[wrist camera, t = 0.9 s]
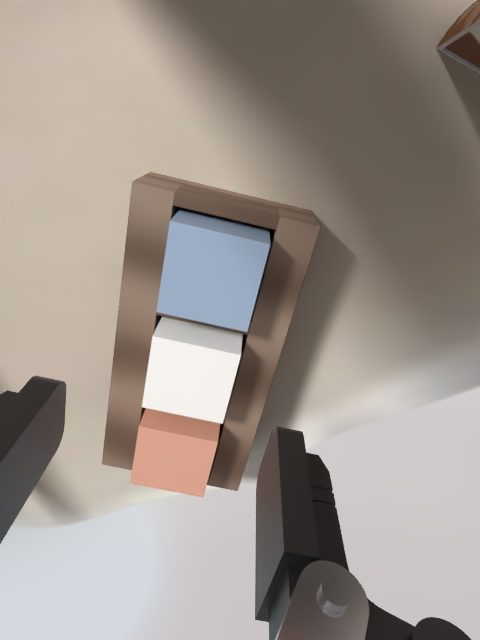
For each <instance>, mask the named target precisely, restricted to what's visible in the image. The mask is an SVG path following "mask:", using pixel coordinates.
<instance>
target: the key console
mask: <svg viewBox="0 0 480 640" xmlns="http://www.w3.org/2000/svg"><path fill="white" fill-rule="evenodd" d="M180 209H185V210H189V211H193V212H198V213H202V214H206V215H210V216H215V217H219V218H223V219H227V220H231V221H236V222H240V223H244V224H248V225H253V226H257V227H261V228H265V229H269V232H270V244H271V245H270V248H269V252H268V256H267V260H266V263H265V267H264V271H263V275H262V278H261V282H260V286H259V290H258V293H257V297H256V301H255V305H254V309H253V312H252V316H251V320H250V324H249V327H248V331H247V332H244V331H240V330H235V329H231V328H226V327H222V326H217V325H212V324H208V323H203V322H199V321H194V320H190V319H185V318H181V317H176V316H172V315H167V314H163V313H158V312H156V310H157V303H158V297H159V290H160V284H161V277H162V270H163V264H164V257H165V251H166V244H167V238H168V231H169V224H170V220H171V219H172V218H173V217H174V216H175V214H176V213H177V212H178V211H179V210H180ZM320 227H321V226H320V225H319V223H318V221H317V219H316V217H315V216H314V214H313V212H312V211H309V210H305V209H301V208H297V207H293V206H289V205H285V204H280V203H276V202H272V201H268V200H264V199H260V198H256V197H251V196H247V195H243V194H239V193H235V192H231V191H227V190H222V189H218V188H214V187H210V186H206V185H202V184H198V183H193V182H189V181H185V180H181V179H177V178H173V177H169V176H164V175H160V174H156V173H152V172H150V173H148V174H146V175H144V176H142V177H140V178H138V179H136V180H134V181H133V182H132V190H131V199H130V208H129V217H128V227H127V236H126V245H125V255H124V264H123V273H122V283H121V292H120V301H119V310H118V320H117V329H116V338H115V348H114V357H113V366H112V376H111V385H110V394H109V403H108V413H107V422H106V431H105V441H104V450H103V459H102V464H103V465H109V466H114V467H119V468H124V469H129V470H132V467H133V461H134V454H135V448H136V441H137V435H138V428H139V424H140V422H141V419H142V417H143V414H144V411H145V409H146V408H143V407H142V402H143V395H144V389H145V382H146V376H147V369H148V362H149V356H150V349H151V343H152V336H153V334H154V332H155V330H156V328H157V326H158V324H159V322H160V320H161V318H162V316H165V317H169V318H174V319H178V320H183V321H187V322H192V323H196V324H201V325H205V326H210V327H214V328H219V329H223V330H228V331H232V332H237V333H242V334H243V337H242V349H241V357H240V361H239V365H238V369H237V372H236V376H235V380H234V384H233V387H232V391H231V395H230V399H229V402H228V406H227V410H226V414H225V418H224V421H223V424H221V423H220V430H219V438H218V444H217V448H216V451H215V455H214V459H213V463H212V466H211V470H210V474H209V478H208V481H207V485H210V486H215V487H220V488H225V489H230V490H235V491H237V490H238V488H239V484H240V481H241V478H242V475H243V472H244V469H245V465H246V462H247V459H248V456H249V453H250V449H251V446H252V443H253V440H254V437H255V434H256V430H257V427H258V424H259V421H260V418H261V414H262V411H263V408H264V405H265V402H266V399H267V395H268V392H269V389H270V386H271V383H272V380H273V376H274V373H275V370H276V367H277V364H278V360H279V357H280V354H281V351H282V348H283V345H284V341H285V338H286V335H287V332H288V329H289V325H290V322H291V319H292V316H293V313H294V310H295V306H296V303H297V300H298V297H299V294H300V291H301V287H302V284H303V281H304V278H305V275H306V271H307V268H308V265H309V262H310V259H311V256H312V252H313V249H314V246H315V243H316V240H317V236H318V233H319V230H320Z"/></svg>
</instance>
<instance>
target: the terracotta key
mask: <svg viewBox="0 0 480 640" xmlns="http://www.w3.org/2000/svg"><path fill="white" fill-rule="evenodd" d="M219 430H220V423H216V422H211V421H206V420H201V419H197V418H192V417H187V416H182V415H177V414H172V413H168V412H163V411H158V410H153V409H148V408H146V409H145V411H144V414H143V417H142V419H141V422H140V424H139V428H138V435H137V441H136V448H135V454H134V461H133V467H132V474H131V481H130V483H132V484H138V485H143V486H148V487H153V488H158V489H163V490H168V491H173V492H178V493H184V494H189V495H194V496H199V497H203V496H204V493H205V489H206V485H207V481H208V478H209V474H210V470H211V466H212V463H213V459H214V455H215V451H216V448H217V444H218V438H219Z"/></svg>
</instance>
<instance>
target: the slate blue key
mask: <svg viewBox="0 0 480 640" xmlns="http://www.w3.org/2000/svg"><path fill="white" fill-rule="evenodd" d="M270 245H271V244H270V232H269V229H265V228H261V227H257V226H253V225H248V224H244V223H240V222H236V221H231V220H227V219H223V218H219V217H215V216H210V215H206V214H202V213H198V212H193V211H189V210H185V209H180V210H179V211H178V212H177V213H176V214H175V216H174V217H173V218H172V219H171V220H170V224H169V231H168V238H167V244H166V251H165V257H164V264H163V270H162V277H161V284H160V290H159V297H158V303H157V310H156V312H158V313H163V314H167V315H172V316H176V317H181V318H185V319H190V320H194V321H199V322H203V323H208V324H212V325H217V326H222V327H226V328H231V329H235V330H240V331H244V332H247V331H248V327H249V324H250V320H251V316H252V312H253V309H254V305H255V301H256V297H257V293H258V290H259V286H260V282H261V278H262V275H263V271H264V267H265V263H266V260H267V256H268V252H269V248H270Z"/></svg>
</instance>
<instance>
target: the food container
mask: <svg viewBox="0 0 480 640" xmlns="http://www.w3.org/2000/svg"><path fill="white" fill-rule="evenodd" d="M436 49H438V50H440V51H441V52H443V53H445V54H447V55H448V56H450V57H452V58H453V59H455V60H457V61H459V62H460V63H462V64H464V65H465V66H467V67H469V68H471V69H472V70H474V71H476V72H477V73H479V74H480V0H477V1H476V2H475V3H473V4H472V5H471V6H470V7H469V8H468V9H467V10H466V11H465V12H464V13H463V14H462V15H461V16H460V17H459V18H458V19H457V20H456V21H455V23H454V24H453V25H452V26H451V27H450V29H449V30H448V31H447V33H446V34H445V36H444V37H443V39H442V40H441V42H440V43H439V45H438V47H437V48H436Z"/></svg>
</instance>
